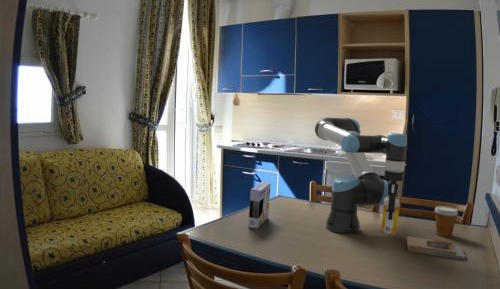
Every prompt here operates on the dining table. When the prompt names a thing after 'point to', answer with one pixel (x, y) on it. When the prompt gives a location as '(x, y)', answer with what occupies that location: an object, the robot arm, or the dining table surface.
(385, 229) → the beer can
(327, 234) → the dining table surface
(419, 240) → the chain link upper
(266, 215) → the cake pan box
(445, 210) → the disposable coffee cup
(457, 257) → the grey flat plate
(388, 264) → the dining table surface
